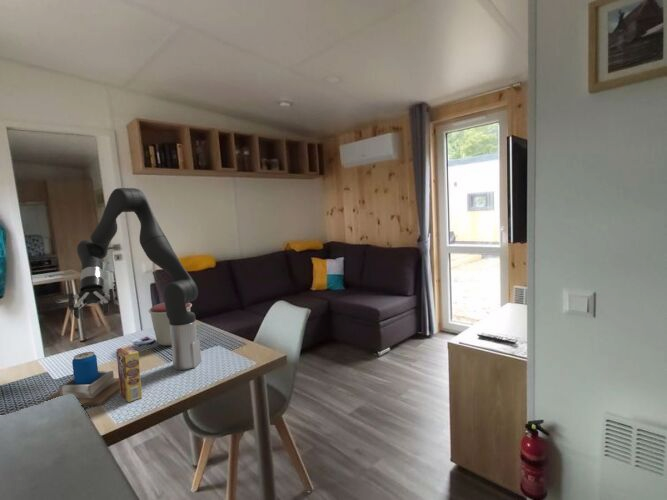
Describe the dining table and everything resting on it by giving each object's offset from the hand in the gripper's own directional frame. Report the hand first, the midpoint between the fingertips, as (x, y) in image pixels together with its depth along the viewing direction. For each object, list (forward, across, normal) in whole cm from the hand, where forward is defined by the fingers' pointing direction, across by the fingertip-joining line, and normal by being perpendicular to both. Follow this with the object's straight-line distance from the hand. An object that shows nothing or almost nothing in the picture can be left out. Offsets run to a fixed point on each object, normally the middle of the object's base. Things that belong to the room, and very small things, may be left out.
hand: (91, 315), depth 126 cm
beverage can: (+27, -1, +3) cm, 27 cm away
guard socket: (+28, -1, +4) cm, 28 cm away
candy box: (+35, +11, -3) cm, 37 cm away
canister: (+2, +27, +29) cm, 40 cm away
